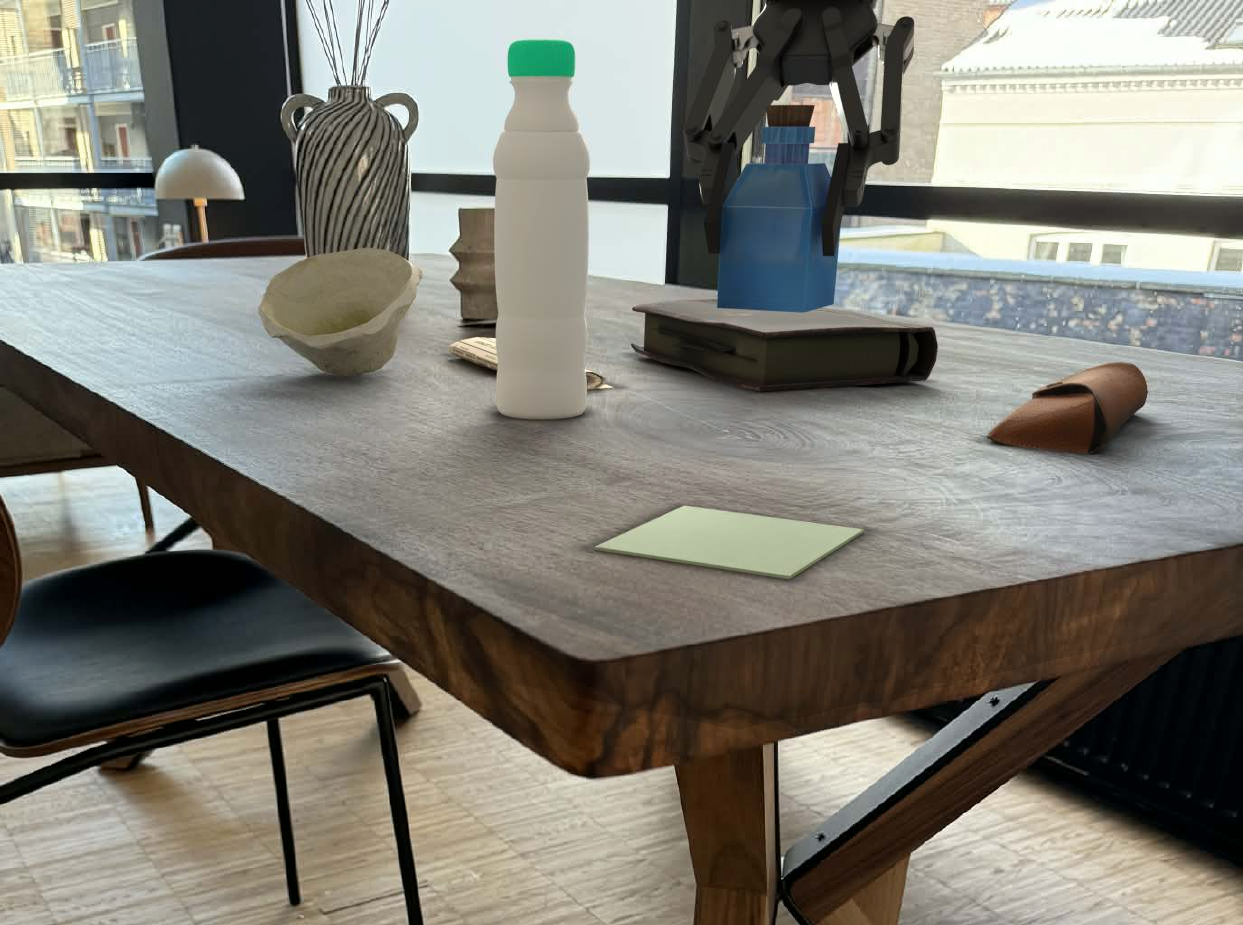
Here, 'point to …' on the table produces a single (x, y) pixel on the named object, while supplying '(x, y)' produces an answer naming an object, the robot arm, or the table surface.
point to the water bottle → (541, 239)
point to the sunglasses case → (1076, 410)
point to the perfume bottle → (778, 224)
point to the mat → (733, 541)
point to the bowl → (341, 308)
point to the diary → (786, 345)
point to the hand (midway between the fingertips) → (769, 239)
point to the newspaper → (486, 356)
